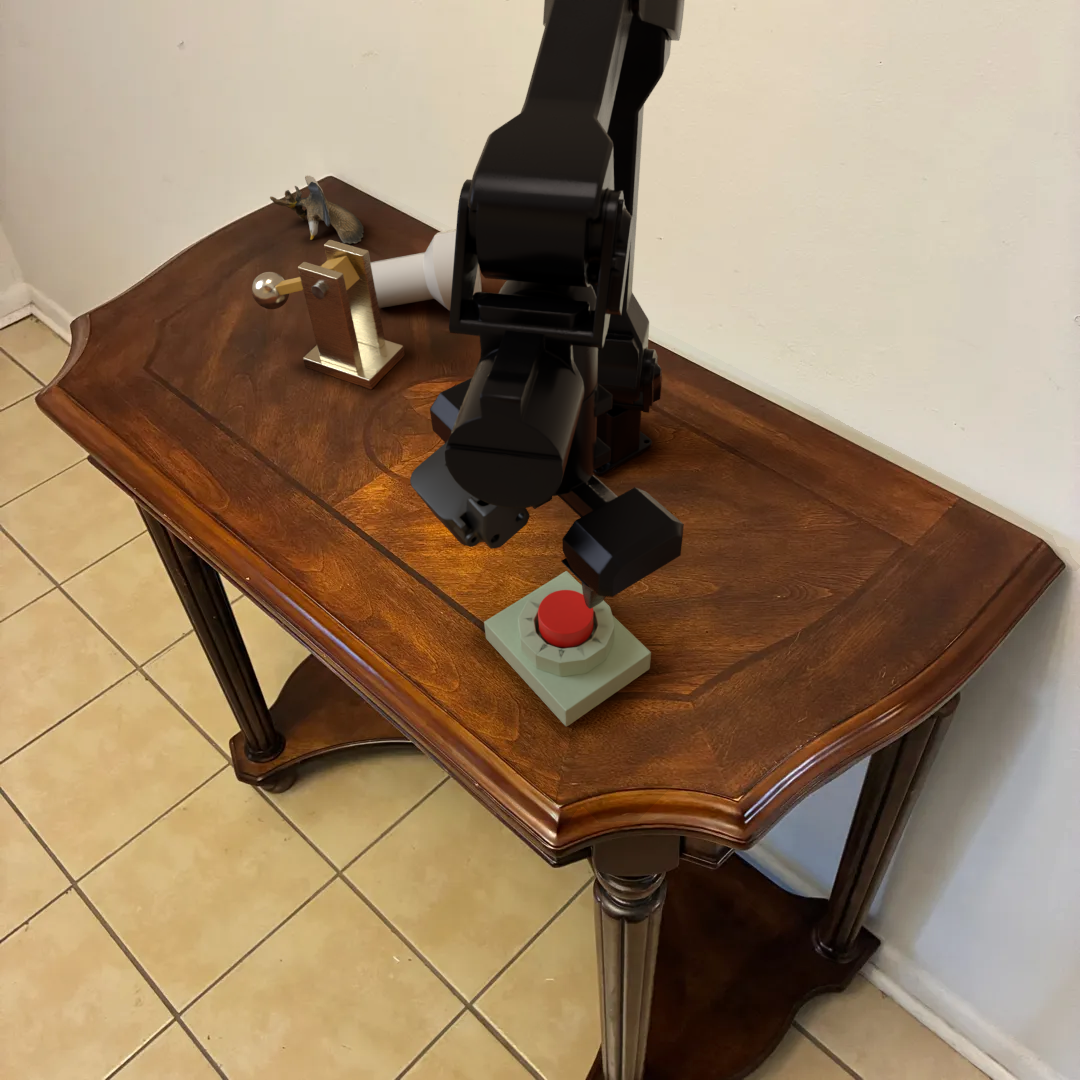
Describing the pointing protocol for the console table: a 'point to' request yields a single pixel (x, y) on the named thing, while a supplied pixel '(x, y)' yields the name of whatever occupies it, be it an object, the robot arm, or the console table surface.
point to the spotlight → (419, 274)
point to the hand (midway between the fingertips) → (551, 561)
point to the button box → (567, 654)
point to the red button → (565, 619)
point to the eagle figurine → (323, 212)
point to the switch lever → (294, 283)
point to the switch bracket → (347, 321)
